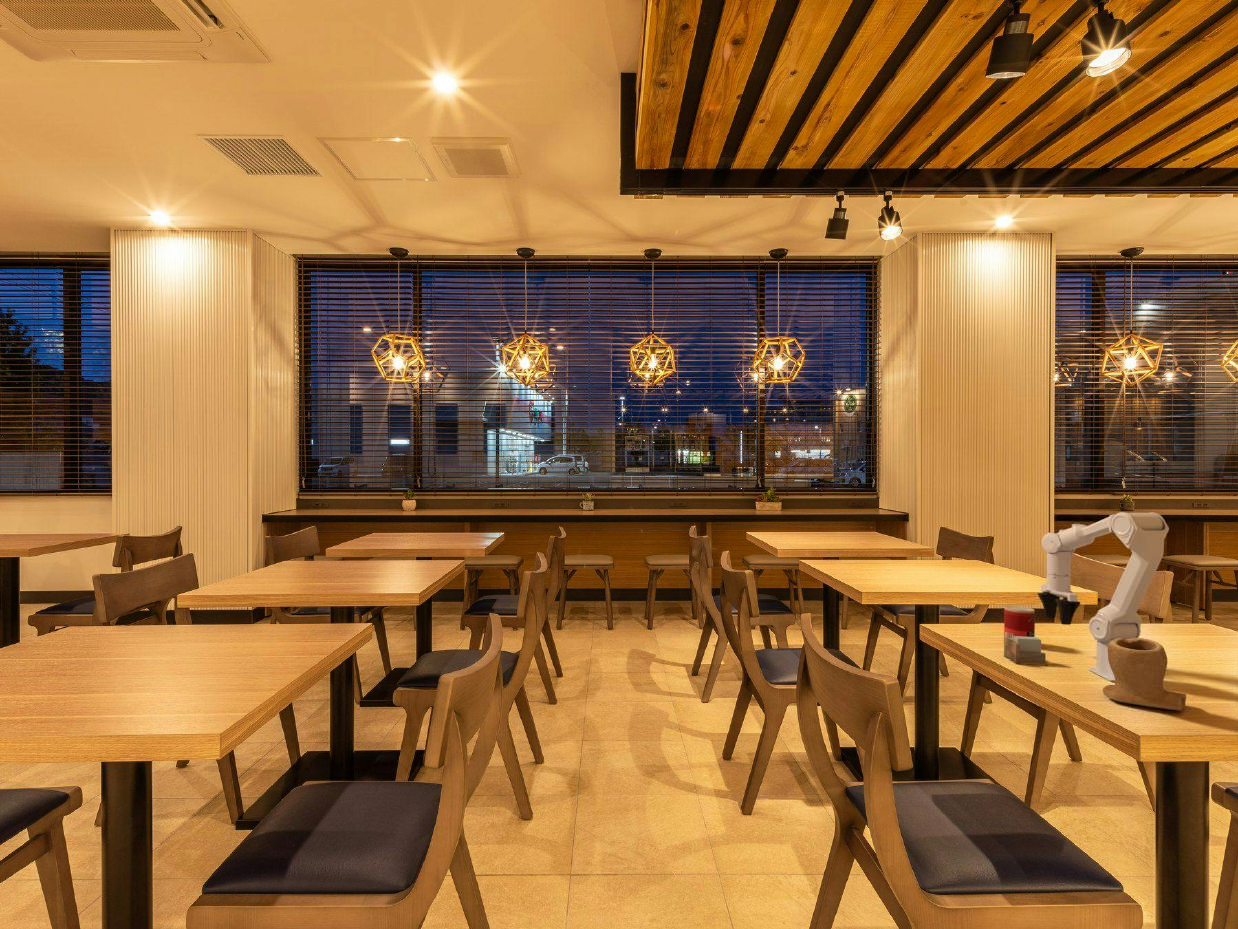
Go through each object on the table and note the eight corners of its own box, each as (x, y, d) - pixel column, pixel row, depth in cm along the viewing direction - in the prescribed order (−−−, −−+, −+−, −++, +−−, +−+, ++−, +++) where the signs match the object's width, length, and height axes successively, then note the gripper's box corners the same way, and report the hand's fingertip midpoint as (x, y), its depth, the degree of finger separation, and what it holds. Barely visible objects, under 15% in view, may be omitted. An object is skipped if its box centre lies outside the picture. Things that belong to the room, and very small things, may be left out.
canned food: (1033, 649, 183) (1034, 612, 183) (1002, 644, 188) (1003, 608, 188) (1035, 643, 190) (1035, 608, 190) (1005, 638, 194) (1005, 604, 194)
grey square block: (1040, 661, 170) (1041, 639, 170) (1017, 660, 171) (1017, 638, 171) (1036, 658, 172) (1036, 637, 172) (1013, 657, 173) (1013, 636, 173)
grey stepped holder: (1047, 665, 168) (1047, 645, 168) (1015, 664, 169) (1016, 644, 169) (1034, 657, 175) (1034, 638, 175) (1003, 656, 176) (1004, 637, 176)
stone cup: (1104, 705, 140) (1104, 640, 140) (1101, 690, 149) (1102, 629, 149) (1194, 722, 131) (1194, 652, 131) (1185, 705, 140) (1185, 640, 140)
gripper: (1030, 569, 185) (1029, 614, 185) (1058, 578, 171) (1057, 626, 171) (1055, 570, 184) (1054, 615, 184) (1085, 579, 170) (1085, 628, 170)
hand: (1058, 621), depth 177 cm, fingers open, 7 cm apart
